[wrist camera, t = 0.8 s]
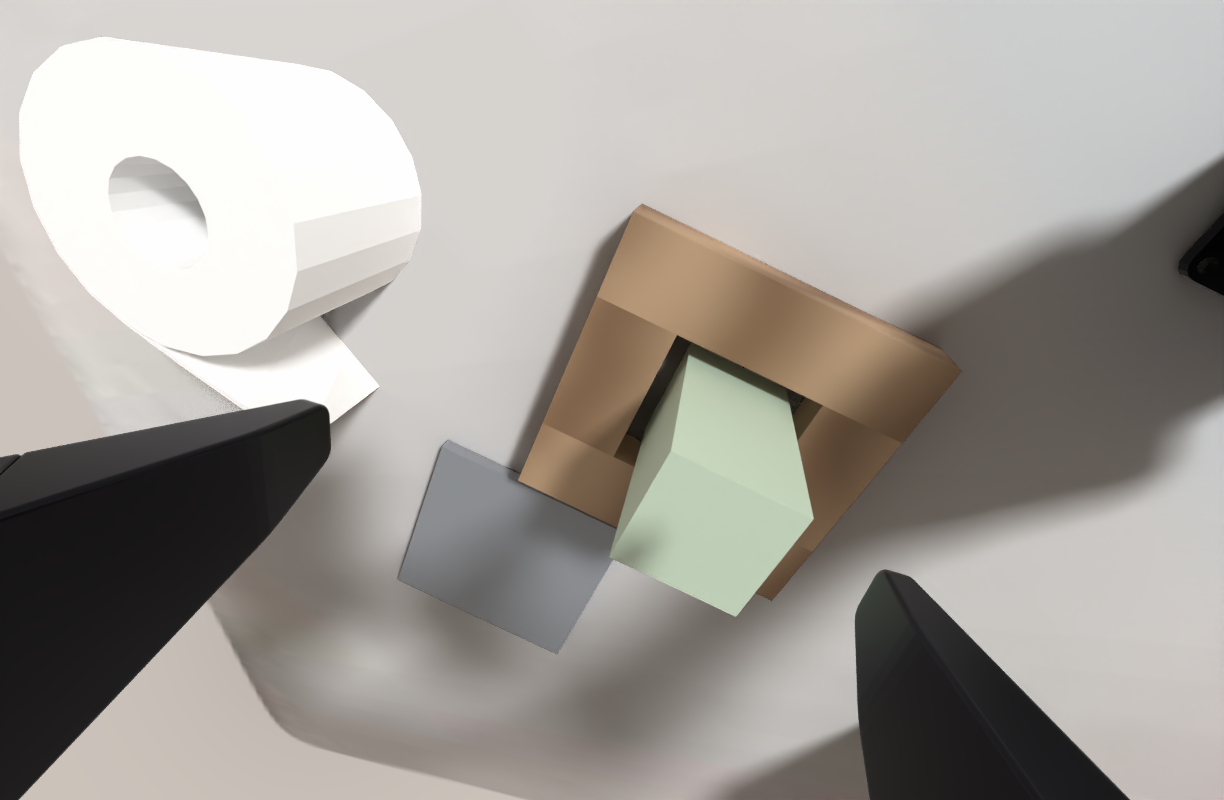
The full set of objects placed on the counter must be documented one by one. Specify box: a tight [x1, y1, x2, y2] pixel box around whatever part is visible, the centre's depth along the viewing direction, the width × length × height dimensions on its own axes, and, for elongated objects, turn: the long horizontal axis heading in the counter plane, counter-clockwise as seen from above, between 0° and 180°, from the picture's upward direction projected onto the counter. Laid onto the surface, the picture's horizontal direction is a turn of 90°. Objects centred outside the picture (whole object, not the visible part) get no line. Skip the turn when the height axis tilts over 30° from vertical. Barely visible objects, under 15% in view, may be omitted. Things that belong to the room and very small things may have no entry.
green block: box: [609, 343, 814, 617], centre depth 19 cm, size 4×4×8 cm
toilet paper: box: [19, 37, 422, 424], centre depth 19 cm, size 8×11×7 cm
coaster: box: [398, 440, 617, 654], centre depth 27 cm, size 9×9×1 cm
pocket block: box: [518, 204, 962, 601], centre depth 21 cm, size 12×12×2 cm
